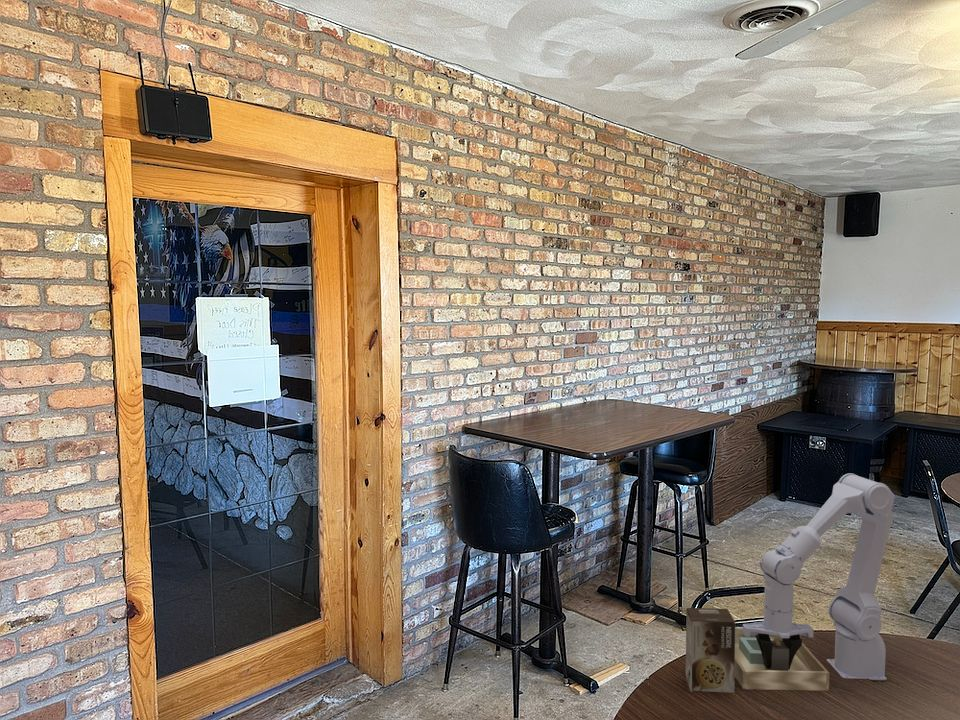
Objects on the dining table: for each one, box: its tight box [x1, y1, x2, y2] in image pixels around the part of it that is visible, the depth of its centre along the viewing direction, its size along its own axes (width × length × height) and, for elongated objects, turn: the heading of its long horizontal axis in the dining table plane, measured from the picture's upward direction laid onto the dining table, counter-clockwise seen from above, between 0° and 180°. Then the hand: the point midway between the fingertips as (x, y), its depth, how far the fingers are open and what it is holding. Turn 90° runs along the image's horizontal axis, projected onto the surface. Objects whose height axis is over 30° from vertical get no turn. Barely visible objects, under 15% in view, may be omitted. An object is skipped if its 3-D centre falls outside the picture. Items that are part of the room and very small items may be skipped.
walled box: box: [735, 626, 830, 692], centre depth 152 cm, size 18×20×4 cm
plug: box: [765, 639, 789, 671], centre depth 146 cm, size 4×4×8 cm
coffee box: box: [685, 607, 736, 694], centre depth 144 cm, size 9×6×16 cm
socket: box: [739, 637, 772, 664], centre depth 156 cm, size 7×7×2 cm
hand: (776, 666), depth 147 cm, fingers closed on plug, 4 cm apart
